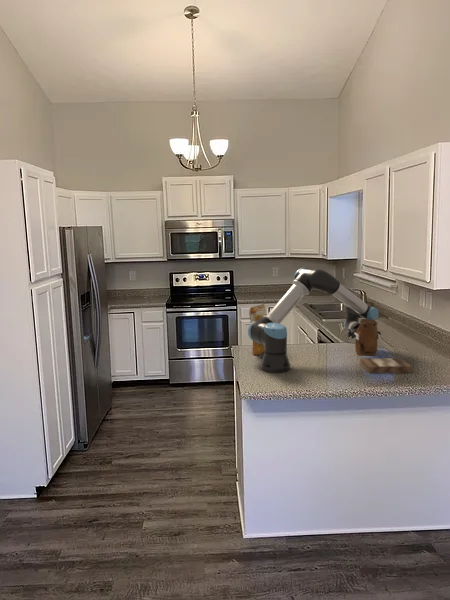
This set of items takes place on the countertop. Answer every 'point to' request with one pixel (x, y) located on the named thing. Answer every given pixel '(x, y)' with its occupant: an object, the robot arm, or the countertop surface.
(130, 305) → the countertop surface
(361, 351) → the catalogued terracotta fragment
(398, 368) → the plinth
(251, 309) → the pancake mix bag
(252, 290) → the countertop surface
